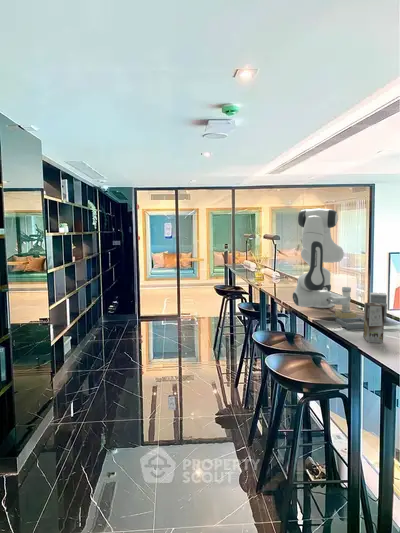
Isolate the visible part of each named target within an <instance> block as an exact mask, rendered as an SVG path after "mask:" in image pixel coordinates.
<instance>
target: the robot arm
mask: <svg viewBox="0 0 400 533" xmlns="http://www.w3.org/2000/svg"><path fill="white" fill-rule="evenodd" d="M338 220H339V215H338V213H337V211H336V210H335V209H333V208H332V209H331V208H329V209H327V208H311V209H306V208H305V209H300V211H299V213H298V214H297V223H298V225H299V227H301V228H303V230H302V235H301V236H302V237H301V244H302V249H301V250H300V256H301V258H302V260H303V261H304V262H305V263H306V264H307V265H308V266H309V269H308V271H307V272H305V273H302V274H301V275H299V276H298V278H297V280H296V287H295V289H294V291H293V293H292V301H293V302H294V304H295V305H296V306H297V307H302V308H320V309H327V308H333V307H334V306H335V305H336V306H337V305H338V306H339V305H340V306H342V305H347V304H348V301H349V300H350V301H351V300H352V298H351V296H350V297H344V296H342V294H338V293H336V292H333V291H331V290H332V285H331V272H330V270H329V269H327V268H326V267H323V263H328V264H329V263H338V262H339V263H340V262H341V261H342V260H343V258H344V256H345V255H344V254H345V253H344V250H343V248H342V247H341V246H340V245H338V244H337V243H336V242H334V240H333V239H332V238H333V237H332V235H331V234H332V233H331V228H334V227H336V226H337V224H338ZM336 306H335V307H336Z"/></svg>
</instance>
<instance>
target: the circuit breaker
mask: <svg viewBox="0 0 400 533" xmlns="http://www.w3.org/2000/svg"><path fill="white" fill-rule="evenodd" d="M369 293H370V296H369V303H380V304H382V305H384V306H385V313H384V322H386V321H387V315H388V313H387V312H388V303H387V299H388V298H387V297H388V294H387V293H385V292H369Z"/></svg>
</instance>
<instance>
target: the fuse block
mask: <svg viewBox="0 0 400 533" xmlns="http://www.w3.org/2000/svg"><path fill="white" fill-rule="evenodd" d="M341 310H342V309H339V310H337V309H336V310H335V312H334V314H330V316H331V317H332V318H335V319H338V318H359V317H357V316H358V315H357V314H358V313H357V312H355V311H353V310H350V313H342V312H341Z"/></svg>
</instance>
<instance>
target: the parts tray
mask: <svg viewBox="0 0 400 533" xmlns="http://www.w3.org/2000/svg"><path fill="white" fill-rule="evenodd" d="M335 322H336V323H338V324H340V325H342V326H341V328H343V329H344V330H346V331H357V330H358V331H359V330H360V331H362V330H363V331H364V317H358V318H338V319H337V318H335ZM348 322H349V323H348ZM351 322H352V323H351Z"/></svg>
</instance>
